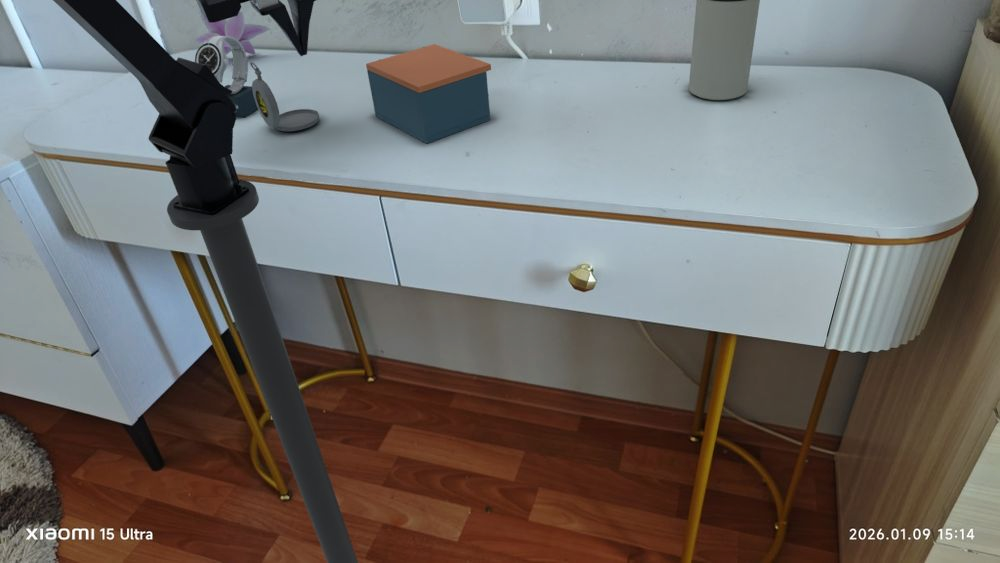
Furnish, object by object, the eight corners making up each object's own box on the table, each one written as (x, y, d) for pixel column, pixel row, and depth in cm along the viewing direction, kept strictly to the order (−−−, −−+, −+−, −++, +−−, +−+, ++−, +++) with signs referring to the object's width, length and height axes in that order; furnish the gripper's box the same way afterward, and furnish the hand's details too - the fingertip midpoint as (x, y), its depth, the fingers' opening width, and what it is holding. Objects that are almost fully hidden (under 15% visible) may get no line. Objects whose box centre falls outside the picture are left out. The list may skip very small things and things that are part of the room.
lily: (286, 61, 127) (269, 9, 126) (247, 55, 116) (227, -2, 115) (235, 82, 131) (217, 32, 130) (192, 79, 120) (172, 23, 118)
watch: (206, 119, 103) (181, 45, 97) (240, 100, 109) (219, 28, 103) (237, 122, 101) (213, 47, 95) (269, 102, 107) (249, 30, 101)
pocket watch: (329, 116, 100) (313, 47, 95) (297, 141, 94) (278, 68, 88) (281, 113, 103) (263, 46, 97) (247, 136, 97) (226, 66, 91)
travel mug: (712, 106, 94) (728, -37, 83) (677, 88, 100) (687, -47, 89) (759, 93, 96) (780, -47, 85) (721, 77, 102) (737, -56, 91)
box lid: (435, 49, 101) (434, 43, 100) (491, 70, 92) (490, 64, 91) (366, 69, 95) (365, 63, 95) (419, 93, 86) (418, 87, 86)
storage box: (436, 95, 104) (430, 50, 100) (490, 120, 95) (486, 71, 91) (375, 116, 99) (366, 69, 95) (426, 143, 90) (419, 93, 86)
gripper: (316, -111, 84) (351, 17, 94) (162, -73, 79) (216, 59, 89) (346, -100, 76) (380, 38, 86) (177, -56, 71) (235, 86, 81)
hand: (303, 54), depth 86 cm, fingers closed
